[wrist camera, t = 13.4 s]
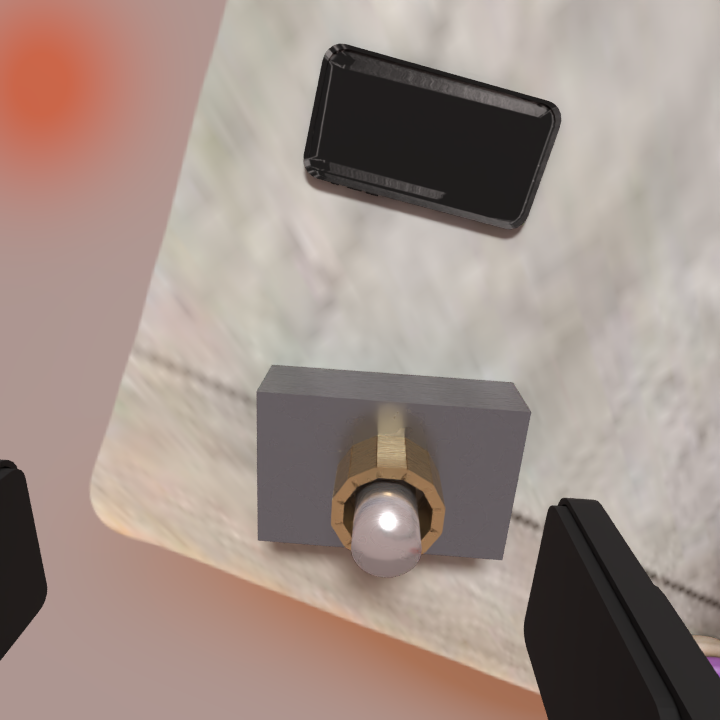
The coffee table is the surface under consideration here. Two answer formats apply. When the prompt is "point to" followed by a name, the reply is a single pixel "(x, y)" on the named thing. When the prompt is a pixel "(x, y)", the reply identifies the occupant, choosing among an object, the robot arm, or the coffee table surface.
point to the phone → (428, 137)
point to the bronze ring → (390, 462)
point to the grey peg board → (386, 496)
